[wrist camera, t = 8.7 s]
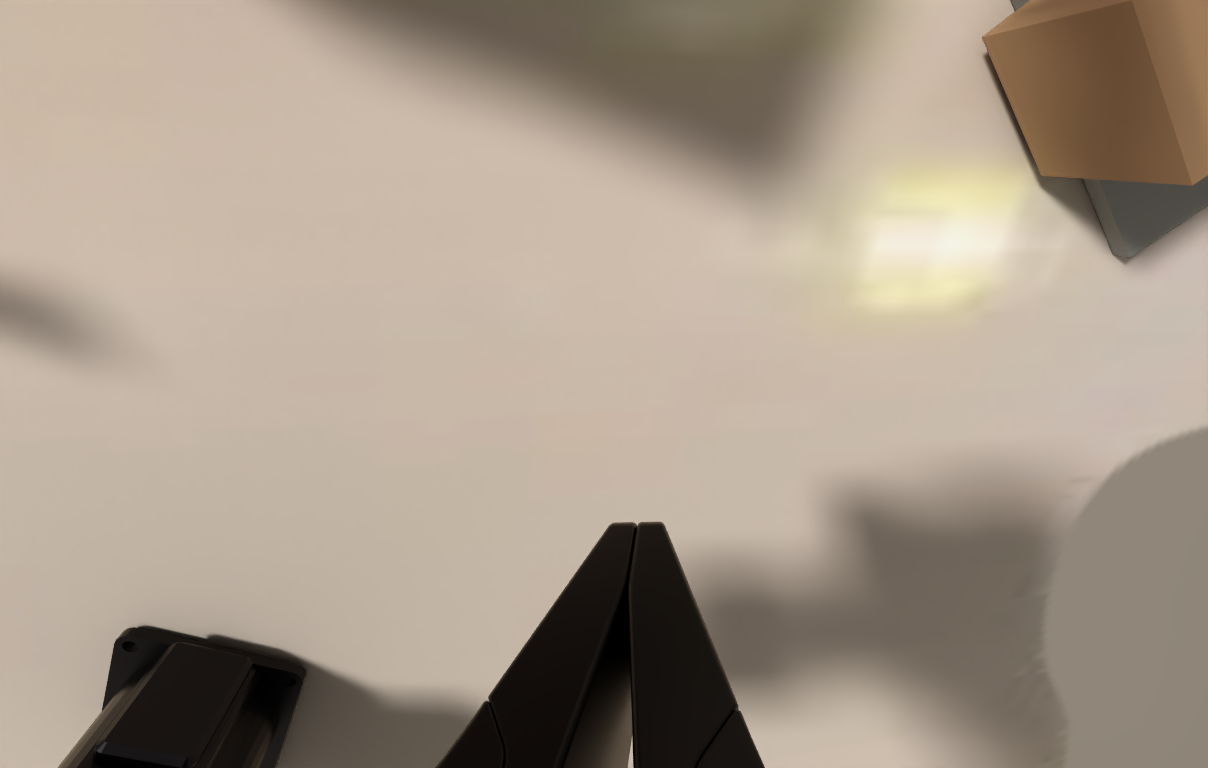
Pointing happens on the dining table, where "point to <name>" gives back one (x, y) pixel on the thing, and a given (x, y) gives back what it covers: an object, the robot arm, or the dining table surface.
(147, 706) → the robot arm
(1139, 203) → the mat
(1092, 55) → the walnut block
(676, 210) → the dining table surface
